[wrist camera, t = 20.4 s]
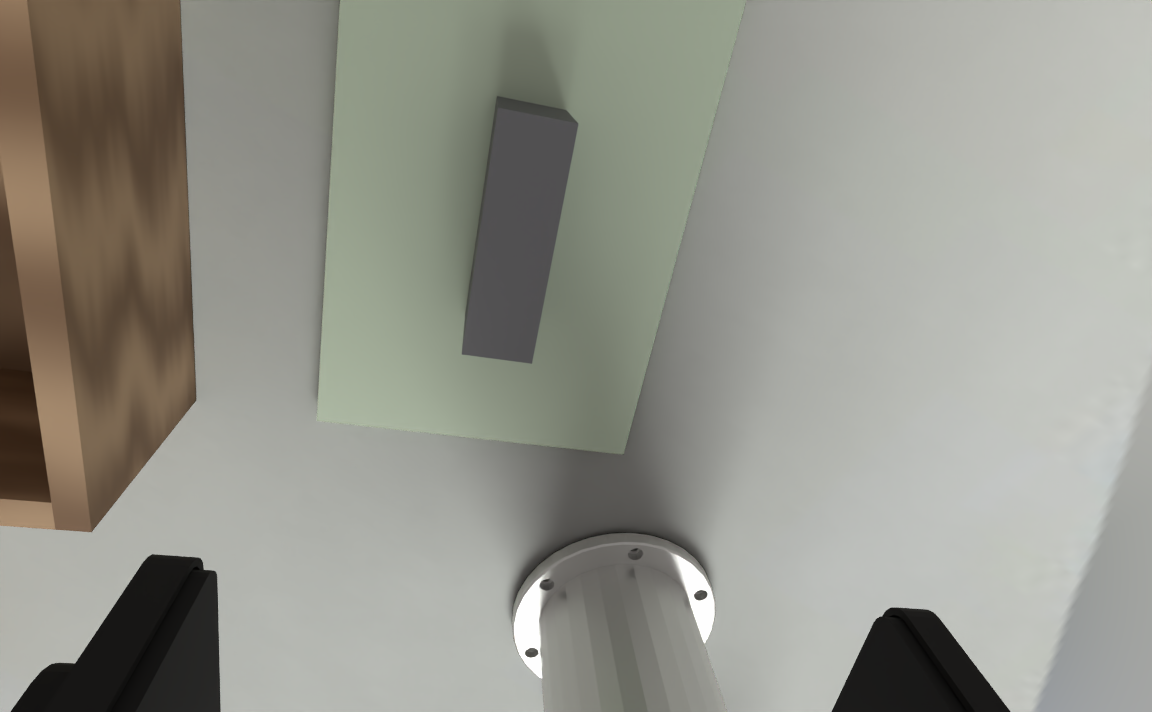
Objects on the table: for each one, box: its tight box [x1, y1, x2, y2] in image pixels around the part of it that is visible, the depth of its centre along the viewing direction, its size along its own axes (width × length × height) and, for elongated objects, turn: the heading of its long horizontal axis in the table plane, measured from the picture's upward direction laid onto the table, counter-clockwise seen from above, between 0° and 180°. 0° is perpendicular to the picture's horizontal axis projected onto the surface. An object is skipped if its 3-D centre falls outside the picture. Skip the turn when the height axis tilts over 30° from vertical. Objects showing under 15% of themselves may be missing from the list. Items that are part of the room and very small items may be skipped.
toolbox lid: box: [317, 0, 746, 455], centre depth 30 cm, size 24×16×6 cm
